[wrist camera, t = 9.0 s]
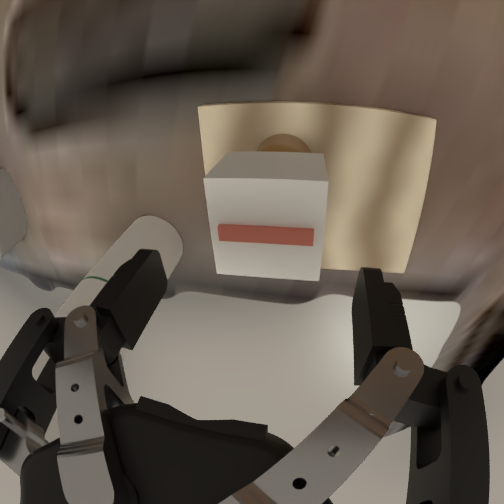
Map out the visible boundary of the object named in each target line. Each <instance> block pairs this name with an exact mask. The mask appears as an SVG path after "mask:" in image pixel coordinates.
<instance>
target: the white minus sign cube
mask: <svg viewBox="0 0 504 504" xmlns="http://www.w3.org/2000/svg"><path fill="white" fill-rule="evenodd" d="M203 180H204V188H205V195H206V203H207V210H208V217H209V224H210V231H211V238H212V244H213V251H214V258H215V264H216V270H217V274H227V275H240V276H253V277H266V278H280V279H294V280H309V281H319V276H320V268H321V260H322V251H323V241H324V231H325V220H326V208H327V195H328V176H327V170H326V165H325V159H324V154H321V153H302V152H261V151H246V152H227V153H226V154H225V155H224V156H223V157H222V159H221V160H220V161H219V162H218V163H217V164H216V165H215V166H214V167H213V168H212V169H211V170H210V172H209V173H208V174H207V175H206V176H205V177H204V178H203Z"/></svg>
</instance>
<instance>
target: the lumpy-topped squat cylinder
mask: <svg viewBox="0 0 504 504" xmlns="http://www.w3.org/2000/svg"><path fill="white" fill-rule="evenodd" d="M26 233H27V219H26V213H25V209H24V206H23V204H22V201H21V198H20V196H19V193H18V191H17V189H16V186H15V184H14V182H13V179H12V177H11V176H10V174H9V173H8V171H7V170H6V169H4V168H1V169H0V259H1V258H2V257H3V256H4V255H5V254H6V253H7V252H9V251H10V250H11V249H12V248H13V247H14V246H15V245H16V244H17V243H18V242H19V241H20V240H21V239H22V238H24V237H25V236H26Z"/></svg>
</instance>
